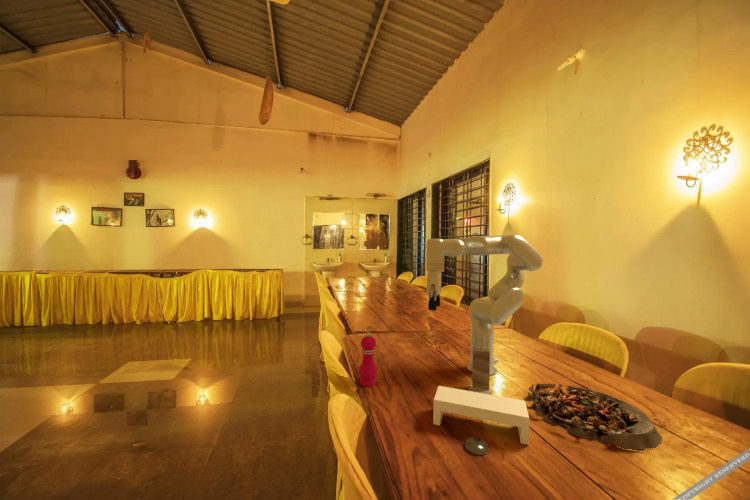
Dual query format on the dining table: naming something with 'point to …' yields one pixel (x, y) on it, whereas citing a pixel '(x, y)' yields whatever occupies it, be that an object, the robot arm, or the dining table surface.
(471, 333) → the robot arm
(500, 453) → the dining table surface
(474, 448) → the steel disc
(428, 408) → the dining table surface
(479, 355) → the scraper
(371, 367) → the pepper mill
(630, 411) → the food dish
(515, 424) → the cream footstool
